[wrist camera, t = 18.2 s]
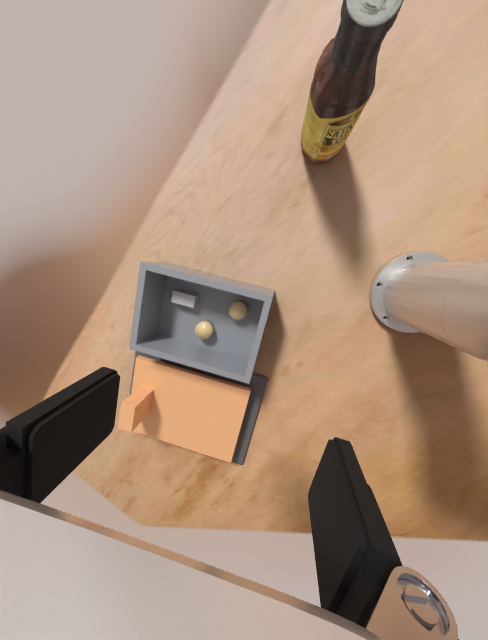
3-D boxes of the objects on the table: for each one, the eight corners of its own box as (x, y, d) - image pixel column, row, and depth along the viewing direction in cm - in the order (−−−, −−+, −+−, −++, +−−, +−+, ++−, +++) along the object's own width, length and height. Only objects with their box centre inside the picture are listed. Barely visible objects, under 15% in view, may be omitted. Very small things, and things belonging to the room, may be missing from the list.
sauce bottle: (317, 174, 37) (356, 77, 18) (291, 141, 36) (303, 3, 17) (354, 140, 35) (442, -8, 16) (327, 104, 35) (386, -92, 16)
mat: (267, 377, 45) (267, 378, 45) (242, 463, 50) (242, 465, 50) (138, 340, 48) (137, 341, 47) (126, 425, 53) (125, 427, 52)
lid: (252, 384, 46) (246, 410, 37) (233, 453, 50) (223, 490, 41) (143, 352, 47) (114, 370, 39) (133, 421, 51) (105, 450, 43)
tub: (274, 290, 42) (273, 296, 34) (254, 363, 45) (249, 384, 37) (165, 262, 43) (140, 261, 36) (154, 334, 47) (129, 348, 39)
